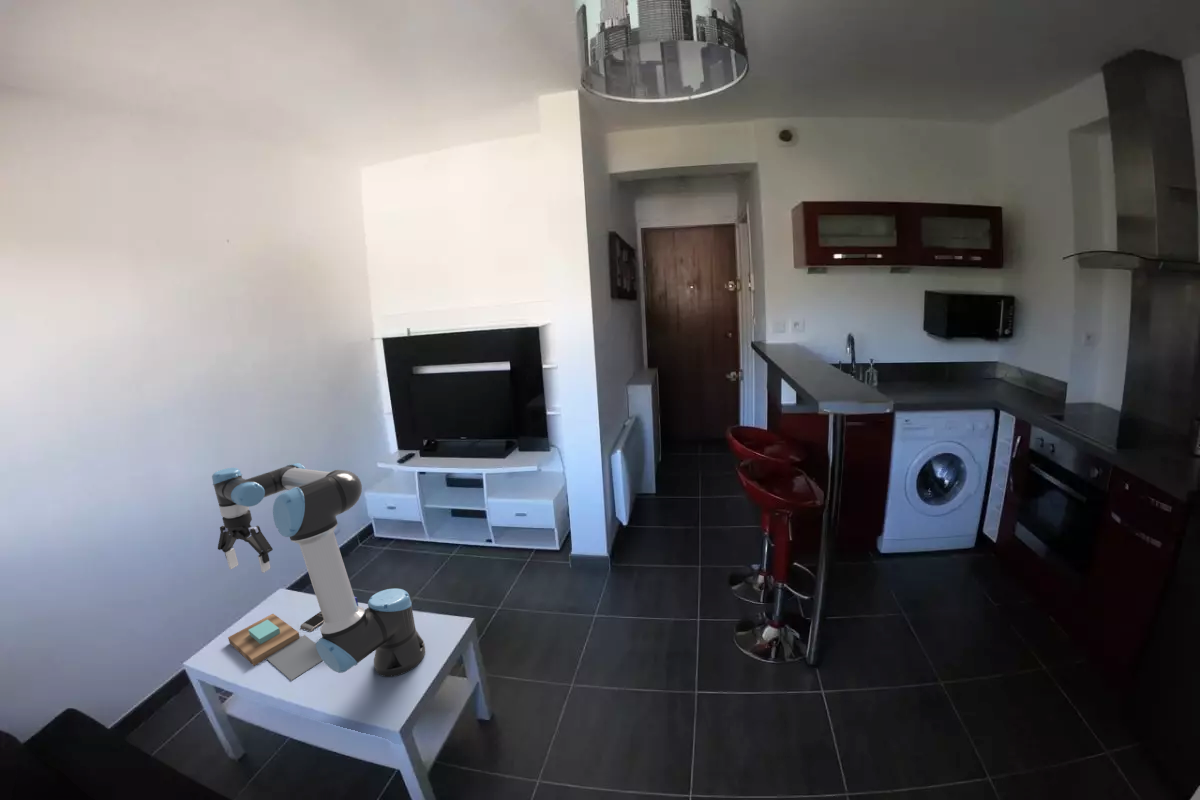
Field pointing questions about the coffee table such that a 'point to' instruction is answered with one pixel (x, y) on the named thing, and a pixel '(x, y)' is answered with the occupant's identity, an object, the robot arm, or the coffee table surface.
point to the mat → (296, 657)
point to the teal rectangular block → (264, 631)
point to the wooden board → (261, 651)
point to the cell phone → (313, 622)
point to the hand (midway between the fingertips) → (250, 568)
